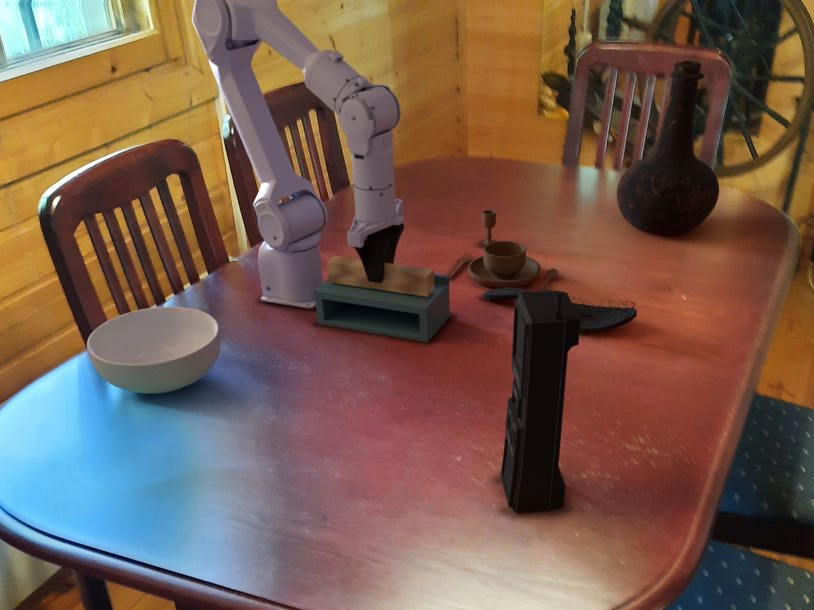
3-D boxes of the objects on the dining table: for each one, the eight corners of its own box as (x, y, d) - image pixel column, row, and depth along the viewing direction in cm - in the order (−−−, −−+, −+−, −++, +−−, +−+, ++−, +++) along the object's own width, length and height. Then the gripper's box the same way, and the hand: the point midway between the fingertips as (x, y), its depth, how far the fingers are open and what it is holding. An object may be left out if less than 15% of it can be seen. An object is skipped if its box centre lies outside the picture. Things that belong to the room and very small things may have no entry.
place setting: (440, 283, 141) (439, 248, 137) (481, 240, 155) (481, 208, 152) (543, 298, 135) (545, 262, 132) (575, 252, 150) (578, 219, 146)
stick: (328, 282, 128) (326, 261, 126) (336, 275, 130) (334, 255, 128) (427, 297, 123) (427, 276, 121) (434, 289, 125) (433, 269, 123)
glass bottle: (603, 238, 155) (620, 70, 138) (625, 206, 168) (643, 49, 151) (704, 250, 149) (734, 77, 133) (718, 216, 162) (747, 54, 146)
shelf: (317, 324, 130) (313, 282, 126) (344, 300, 136) (340, 260, 132) (427, 342, 124) (426, 299, 120) (449, 316, 131) (449, 275, 127)
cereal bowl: (112, 425, 108) (98, 376, 104) (89, 368, 120) (76, 322, 116) (242, 390, 114) (234, 343, 110) (208, 340, 126) (199, 296, 122)
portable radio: (498, 472, 98) (504, 264, 83) (549, 468, 98) (565, 261, 83) (508, 515, 92) (517, 299, 77) (564, 511, 92) (583, 295, 77)
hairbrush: (497, 270, 137) (646, 296, 125) (497, 292, 139) (644, 319, 127) (470, 289, 132) (624, 318, 120) (471, 312, 134) (622, 342, 122)
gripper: (378, 203, 111) (384, 300, 119) (421, 170, 121) (423, 262, 130) (330, 198, 113) (339, 294, 121) (376, 166, 124) (381, 256, 132)
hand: (379, 277), depth 125 cm, fingers closed on stick, 2 cm apart
